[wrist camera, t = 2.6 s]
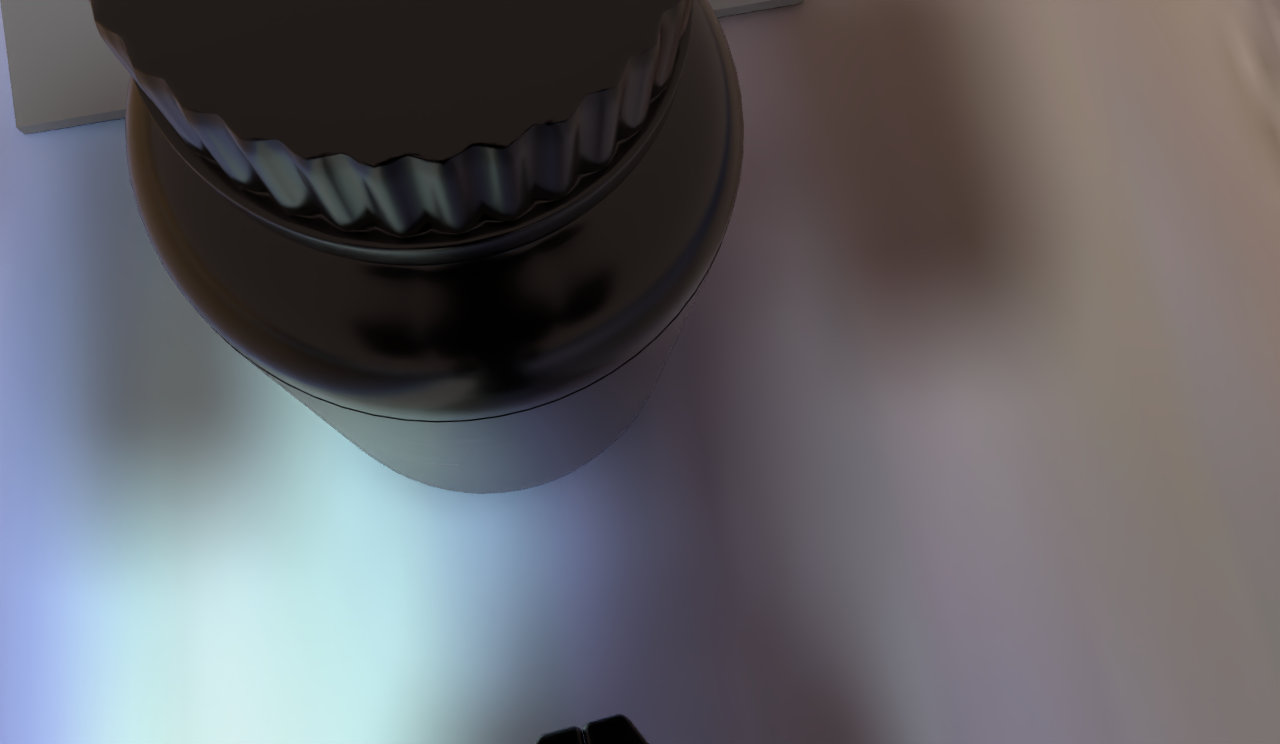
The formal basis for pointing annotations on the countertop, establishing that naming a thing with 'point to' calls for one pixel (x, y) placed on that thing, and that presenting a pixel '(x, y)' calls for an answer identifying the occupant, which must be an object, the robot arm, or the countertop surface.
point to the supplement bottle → (438, 208)
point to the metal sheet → (106, 62)
